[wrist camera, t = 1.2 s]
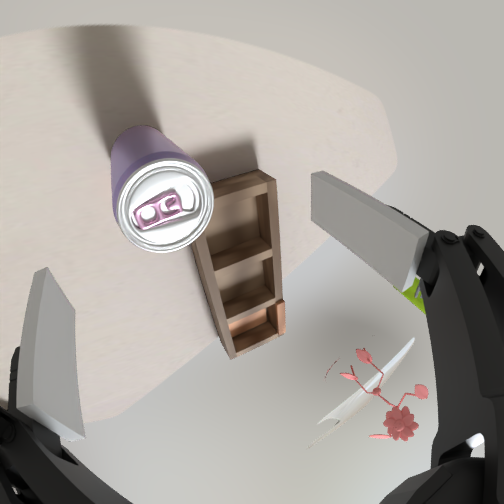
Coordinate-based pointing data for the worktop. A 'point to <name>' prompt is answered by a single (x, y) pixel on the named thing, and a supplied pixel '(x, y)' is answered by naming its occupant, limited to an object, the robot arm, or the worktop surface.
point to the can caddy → (243, 262)
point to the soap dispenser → (411, 295)
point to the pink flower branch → (396, 419)
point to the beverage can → (158, 191)
